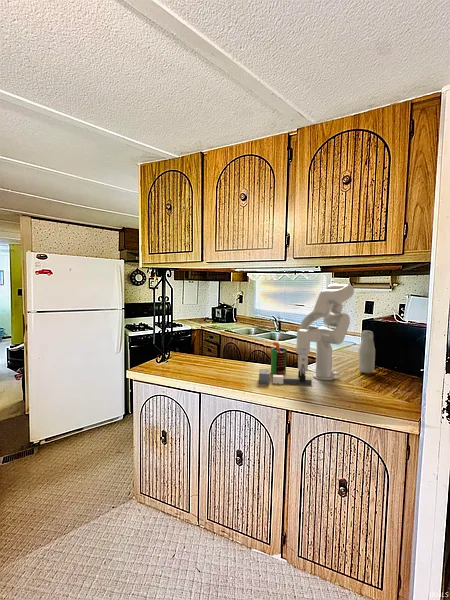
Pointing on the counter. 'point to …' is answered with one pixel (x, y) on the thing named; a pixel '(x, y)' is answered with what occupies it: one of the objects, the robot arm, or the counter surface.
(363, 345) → the light grey bottle
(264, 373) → the housing
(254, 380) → the counter surface
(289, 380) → the plug
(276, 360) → the motor
